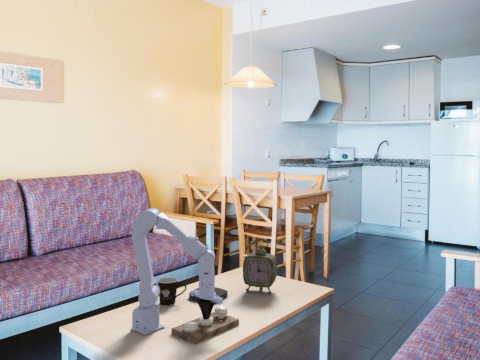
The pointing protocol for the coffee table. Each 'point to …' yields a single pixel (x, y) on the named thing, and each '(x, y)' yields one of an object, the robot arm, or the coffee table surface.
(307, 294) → the coffee table surface
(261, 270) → the tabletop clock
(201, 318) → the knob middle
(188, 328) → the knob near
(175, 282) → the coffee mug
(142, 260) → the robot arm
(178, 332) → the brown wooden board
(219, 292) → the media streaming box
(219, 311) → the knob far
